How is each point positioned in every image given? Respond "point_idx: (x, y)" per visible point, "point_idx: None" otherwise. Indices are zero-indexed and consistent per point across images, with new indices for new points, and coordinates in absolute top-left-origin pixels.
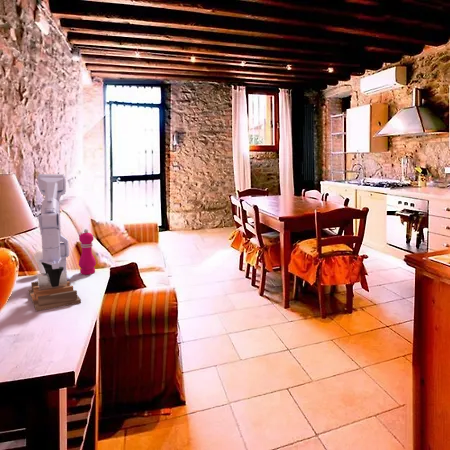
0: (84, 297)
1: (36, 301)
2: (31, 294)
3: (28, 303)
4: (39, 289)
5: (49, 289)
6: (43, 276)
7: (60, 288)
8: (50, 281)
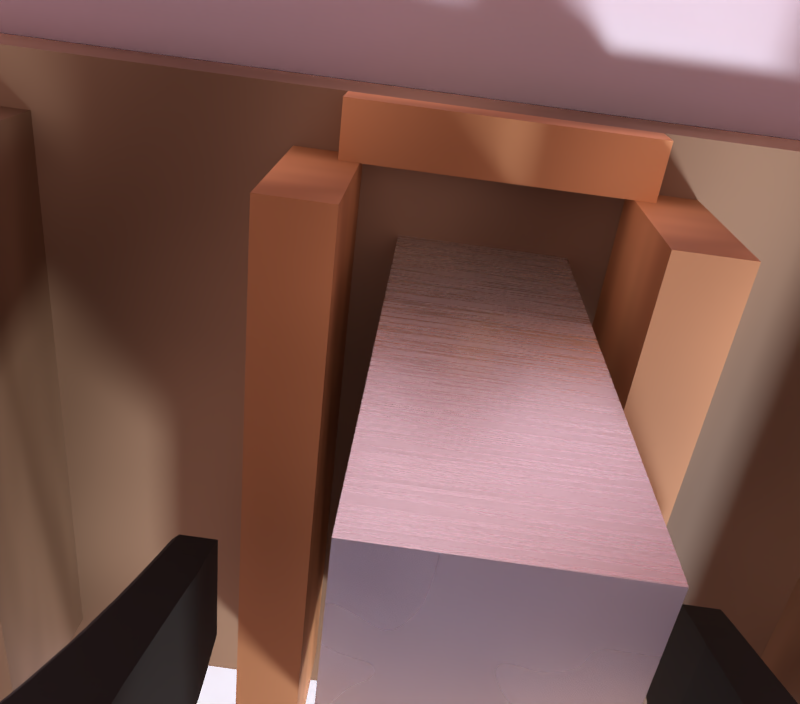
0: (205, 684)
1: (257, 134)
2: (652, 147)
3: (442, 11)
4: (384, 309)
5: (299, 464)
6: (322, 640)
7: (243, 611)
8: (97, 622)
